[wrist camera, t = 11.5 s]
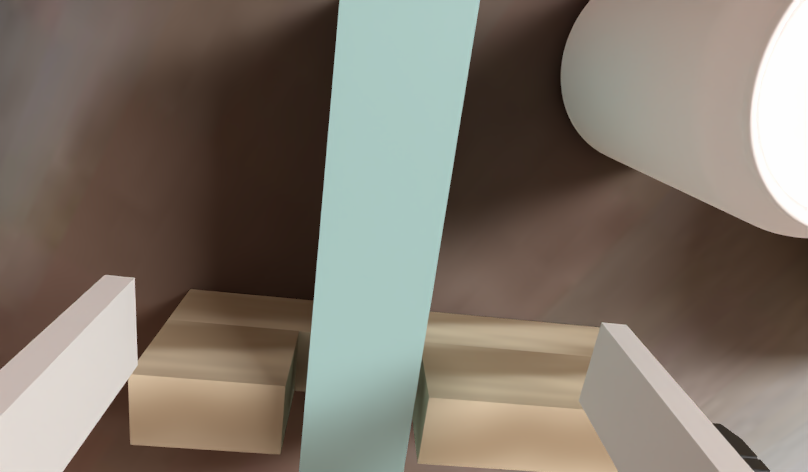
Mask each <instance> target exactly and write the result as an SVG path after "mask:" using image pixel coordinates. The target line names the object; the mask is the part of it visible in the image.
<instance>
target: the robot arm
mask: <svg viewBox="0 0 808 472" xmlns="http://www.w3.org/2000/svg"><path fill="white" fill-rule="evenodd" d="M137 366H138V357H137V329H136V302H135V278H132V277H122V276H111V275H104V276H103V277H102V278H101V279H100V280H99V281H98V282H96V283H95V284H94V285H93V286H92V287H91V288H90V289H89V290H88V291H87V292H85V293H84V294H83V295H82V296H81V297H80V298H79V299H78V300H77V301H75V302H74V303H73V304H72V305H71V306H70V307H69V308H68V309H67V310H66V311H64V312H63V313H62V314H61V315H60V316H59V317H58V318H57V319H56V320H55V321H53V322H52V323H51V324H50V325H49V326H48V327H47V328H46V329H45V330H43V331H42V332H41V333H40V334H39V335H38V336H37V337H36V338H35V339H34V340H32V341H31V342H30V343H29V344H28V345H27V346H26V347H25V348H24V349H23V350H21V351H20V352H19V353H18V354H17V355H16V356H15V357H14V358H13V359H11V360H10V361H9V362H8V363H7V364H6V365H5V366H4V367H3V368H2V369H0V472H63V471H64V469H65V468H66V466H67V465H68V464H69V462H70V461H71V459H72V458H73V456H74V455H75V454H76V452H77V451H78V449H79V448H80V446H81V445H82V444H83V442H84V441H85V439H86V438H87V437H88V435H89V434H90V432H91V431H92V429H93V428H94V427H95V425H96V424H97V422H98V421H99V420H100V418H101V417H102V415H103V414H104V412H105V411H106V410H107V408H108V407H109V405H110V404H111V403H112V401H113V400H114V398H115V397H116V395H117V394H118V393H119V391H120V390H121V388H122V387H123V385H124V384H125V383H126V381H127V380H128V378H129V377H130V376H131V374H132V373H133V371H134V370H135V368H136V367H137ZM579 402H580V404H581V406H582V408H583V410H584V411H585V413H586V415H587V417H588V418H589V420H590V422H591V424H592V426H593V427H594V429H595V431H596V433H597V435H598V436H599V438H600V440H601V442H602V443H603V445H604V447H605V449H606V451H607V452H608V454H609V456H610V458H611V460H612V461H613V463H614V465H615V467H616V468H617V470H618V472H770V470H769V469H768V468H767V467H766V466H765V464H764V463H763V462H762V461H761V460H758V459H757V456H756V455H755V453H754V452H753V451H752V450H751V449H750V448H749V447H748V446H747V445H746V444H745V442H744V441H743V440H742V439H741V438H739V437H738V436H736V435H735V434H734V433H732V432H731V431H729V430H728V429H727V428H725V427H724V426H723V425H721V424H715V423H711V422H710V420H709V419H708V418H707V417H706V416H705V415H704V413H703V412H702V411H701V410H700V409H699V408H698V407H697V405H696V404H695V403H694V402H693V401H692V400H691V399H690V397H689V396H688V395H687V394H686V393H685V392H684V390H683V389H682V388H681V387H680V386H679V385H678V384H677V382H676V381H675V380H674V379H673V378H672V377H671V376H670V374H669V373H668V372H667V371H666V370H665V369H664V367H663V366H662V365H661V364H660V363H659V362H658V361H657V359H656V358H655V357H654V356H653V355H652V354H651V352H650V351H649V350H648V349H647V348H646V347H645V346H644V344H643V343H642V342H641V341H640V340H639V339H638V338H637V336H636V335H635V334H634V333H633V332H632V331H631V329H630V328H629V327H628V326H627V325H623V324H613V323H602V322H601V326H600V329H599V333H598V336H597V340H596V343H595V346H594V350H593V353H592V357H591V360H590V364H589V367H588V371H587V374H586V377H585V381H584V384H583V388H582V391H581V395H580V398H579Z"/></svg>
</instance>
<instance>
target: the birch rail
mask: <svg viewBox="0 0 808 472" xmlns="http://www.w3.org/2000/svg"><path fill="white" fill-rule="evenodd" d="M313 303H314V301H313V300H302V299H291V298H281V297H270V296H259V295H249V294H238V293H227V292H217V291H206V290H195V289H190V290H189V291H188V293H187V294H186V296H185V297H184V298H183V300H182V301H181V302H180V304H179V305H178V306H177V308H176V309H175V311H174V312H173V313H172V315H171V316H170V317H169V319H168V320H167V321H166V323H165V324H164V326H163V327H162V328H161V330H160V331H159V332H158V334H157V335H156V336H155V338H154V339H153V340H152V342H151V343H150V345H149V346H148V347H147V349H146V350H145V351H144V353H143V354H142V355H141V357H140V358H139V360H138V366H137V367H136V368H135V370H134V371H133V373H132V374H131V376H130V377H129V378H128V392H129V422H130V445H143V446H158V447H173V448H188V449H203V450H219V451H234V452H249V453H264V454H281V449H282V445H283V440H284V435H285V431H286V426H287V422H288V417H289V413H290V408H291V403H292V399H293V394H294V391H304V392H306V384H307V373H308V361H309V349H310V338H311V326H312V315H313ZM599 329H600V328H599V327H590V326H579V325H569V324H558V323H547V322H537V321H526V320H515V319H505V318H494V317H483V316H473V315H462V314H451V313H441V312H430V311H429V317H428V324H427V330H426V336H425V342H424V348H423V354H422V361H421V367H420V373H419V379H418V385H417V391H416V398H415V404H414V410H413V416H412V419H413V428H414V436H415V445H416V454H417V463H418V464H432V465H447V466H462V467H478V468H493V469H508V470H523V471H538V472H618V470H617V468H616V467H615V465H614V463H613V461H612V460H611V458H610V456H609V454H608V452H607V451H606V449H605V447H604V445H603V443H602V442H601V440H600V438H599V436H598V435H597V433H596V431H595V429H594V427H593V426H592V424H591V422H590V420H589V418H588V417H587V415H586V413H585V411H584V410H583V408H582V406H581V404H580V402H579V398H580V395H581V391H582V388H583V384H584V381H585V377H586V374H587V371H588V367H589V364H590V360H591V357H592V353H593V350H594V346H595V343H596V340H597V336H598V333H599Z"/></svg>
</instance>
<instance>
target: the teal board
mask: <svg viewBox="0 0 808 472" xmlns="http://www.w3.org/2000/svg"><path fill="white" fill-rule="evenodd" d="M479 3H480V0H340V1H339V12H338V24H337V36H336V47H335V59H334V71H333V82H332V94H331V105H330V117H329V129H328V140H327V152H326V163H325V175H324V187H323V198H322V210H321V222H320V233H319V245H318V256H317V268H316V280H315V291H314V303H313V315H312V326H311V338H310V349H309V361H308V373H307V384H306V396H305V407H304V419H303V431H302V442H301V454H300V466H299V472H404V465H405V459H406V453H407V447H408V441H409V435H410V428H411V422H412V416H413V410H414V404H415V398H416V391H417V385H418V379H419V373H420V367H421V361H422V354H423V348H424V342H425V336H426V330H427V324H428V317H429V311H430V305H431V299H432V293H433V287H434V281H435V274H436V268H437V262H438V256H439V250H440V244H441V237H442V231H443V225H444V219H445V213H446V207H447V200H448V194H449V188H450V182H451V176H452V170H453V163H454V157H455V151H456V145H457V139H458V133H459V126H460V120H461V114H462V108H463V102H464V96H465V89H466V83H467V77H468V71H469V65H470V59H471V52H472V46H473V40H474V34H475V28H476V22H477V15H478V9H479Z"/></svg>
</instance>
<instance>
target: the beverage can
mask: <svg viewBox="0 0 808 472" xmlns="http://www.w3.org/2000/svg"><path fill="white" fill-rule="evenodd" d="M561 91H562V97H563V102H564V105H565V108H566V111H567V114H568V116H569V118H570V120H571V122H572V124H573V126H574V127H575V129H576V130H577V132H578V133H579V134H580V136H581V137H582V138H583V139H584V140H585V141H586V142H587V143H588V144H589V145H590V146H592V147H593V148H594V149H596V150H597V151H599V152H600V153H602V154H604V155H606V156H608V157H610V158H612V159H614V160H616V161H618V162H620V163H622V164H625V165H627V166H629V167H631V168H633V169H635V170H637V171H639V172H642V173H644V174H646V175H648V176H650V177H652V178H654V179H656V180H659V181H661V182H663V183H665V184H667V185H669V186H671V187H673V188H675V189H678V190H680V191H682V192H684V193H686V194H688V195H690V196H692V197H695V198H697V199H699V200H701V201H703V202H705V203H707V204H709V205H712V206H714V207H716V208H718V209H720V210H722V211H724V212H726V213H728V214H731V215H733V216H735V217H737V218H739V219H741V220H743V221H745V222H748V223H750V224H752V225H754V226H756V227H759V228H761V229H764V230H766V231H769V232H773V233H776V234H780V235H785V236H791V237H798V238H808V0H590V1H589V2H588V3H587V5H586V6H585V7H584V9H583V10H582V12H581V13H580V15H579V16H578V18H577V20H576V21H575V23H574V25H573V27H572V29H571V32H570V34H569V36H568V39H567V42H566V45H565V49H564V53H563V58H562V64H561Z"/></svg>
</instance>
